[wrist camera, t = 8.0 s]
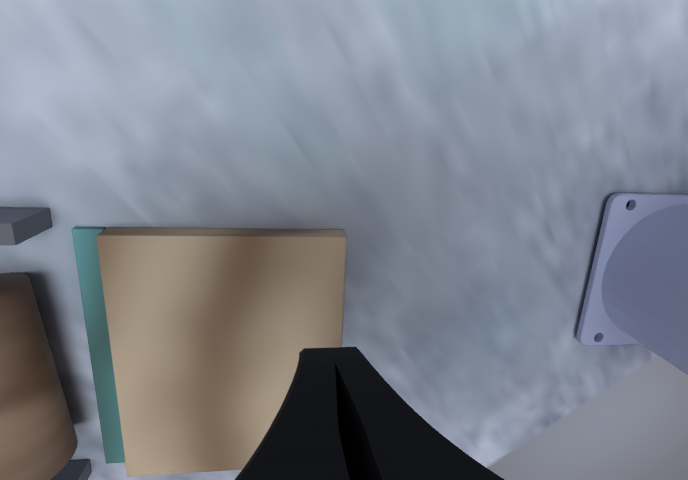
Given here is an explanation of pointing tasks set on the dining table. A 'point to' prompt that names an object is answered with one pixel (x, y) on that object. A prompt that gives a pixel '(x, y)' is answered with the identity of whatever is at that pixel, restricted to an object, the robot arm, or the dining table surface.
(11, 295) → the roller
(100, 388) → the tan flat square slab
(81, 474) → the gray u-shaped frame
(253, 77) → the dining table surface
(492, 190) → the dining table surface
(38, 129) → the dining table surface
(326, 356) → the robot arm
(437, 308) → the dining table surface
